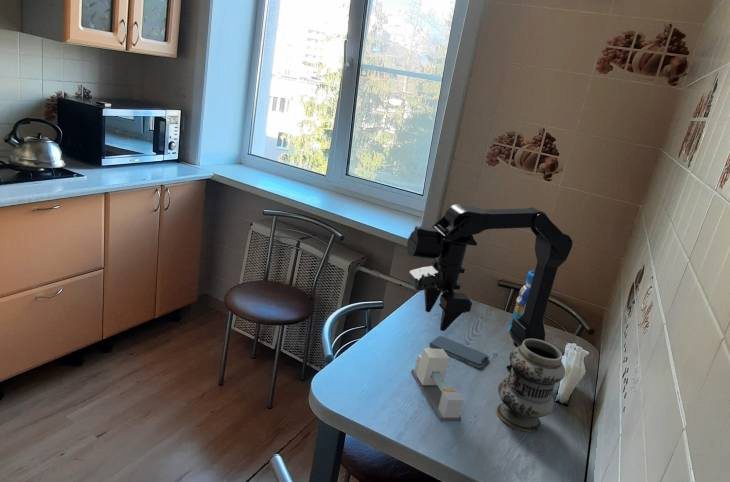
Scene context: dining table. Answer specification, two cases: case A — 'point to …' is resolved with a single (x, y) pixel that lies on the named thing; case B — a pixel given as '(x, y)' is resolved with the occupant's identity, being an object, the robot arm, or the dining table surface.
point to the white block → (432, 365)
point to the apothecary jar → (530, 384)
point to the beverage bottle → (522, 298)
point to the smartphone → (460, 351)
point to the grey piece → (441, 397)
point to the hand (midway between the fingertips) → (434, 320)
